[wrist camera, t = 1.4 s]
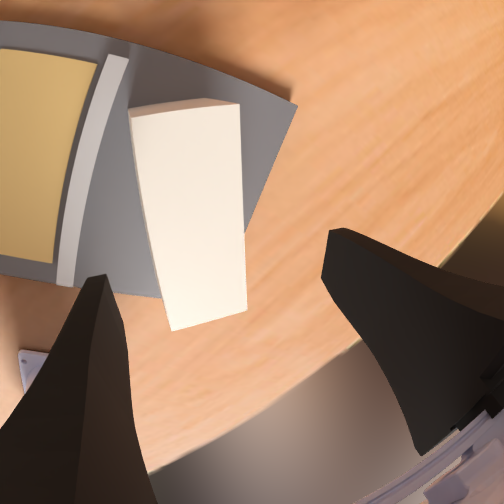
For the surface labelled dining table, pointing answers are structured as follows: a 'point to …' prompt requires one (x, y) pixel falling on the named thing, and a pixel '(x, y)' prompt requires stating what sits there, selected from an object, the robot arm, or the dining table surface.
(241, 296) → the frame block
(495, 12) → the dining table surface
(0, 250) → the grey ridged board
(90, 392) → the robot arm
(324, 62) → the dining table surface
